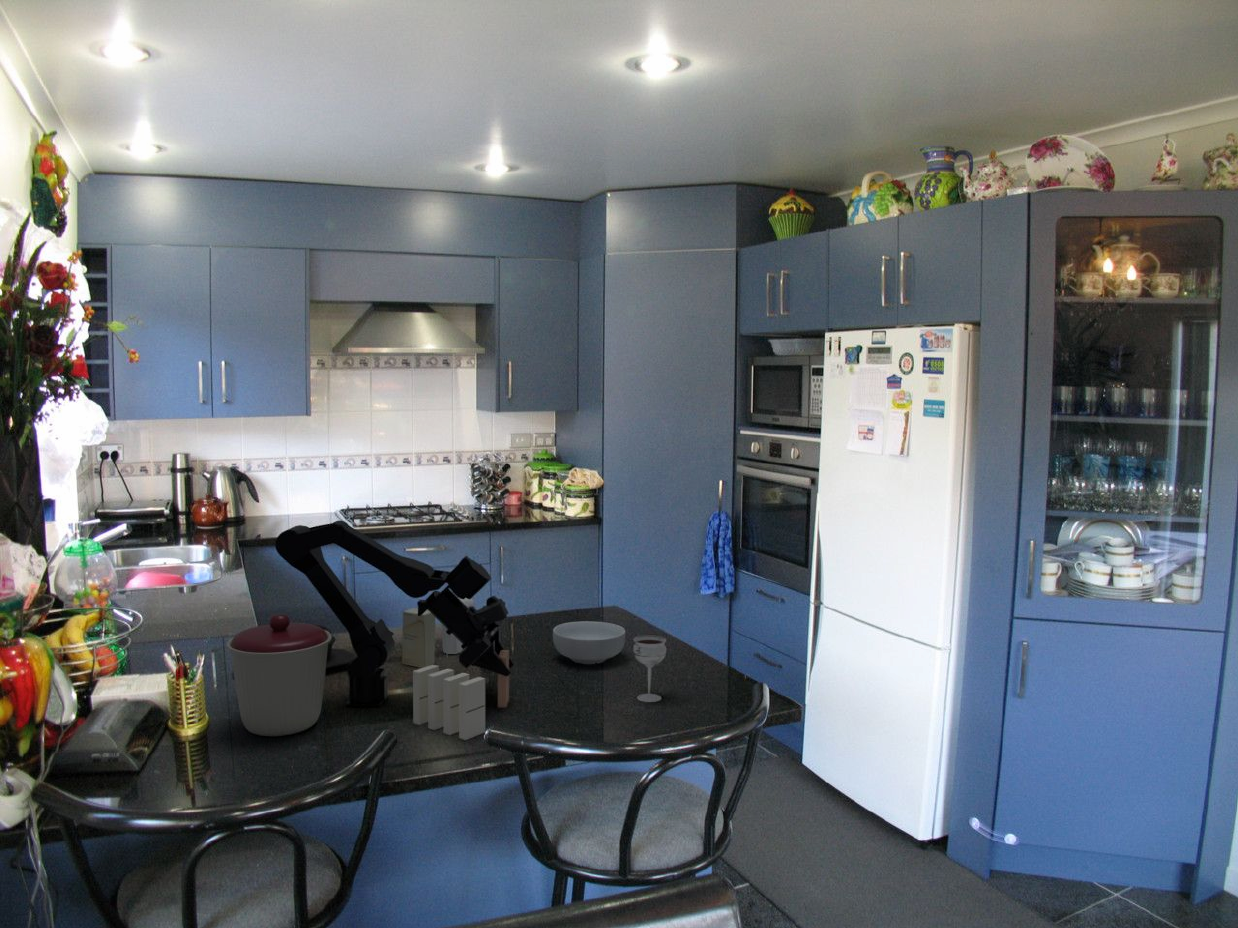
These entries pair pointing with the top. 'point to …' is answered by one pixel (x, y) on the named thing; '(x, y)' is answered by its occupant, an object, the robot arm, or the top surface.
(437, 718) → the domino
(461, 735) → the domino
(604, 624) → the cereal bowl
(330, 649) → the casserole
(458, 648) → the photo printer
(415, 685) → the domino
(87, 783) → the top surface
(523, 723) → the top surface
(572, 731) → the top surface
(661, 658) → the wineglass
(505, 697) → the domino
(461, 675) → the domino
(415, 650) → the skincare box
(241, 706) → the canister
